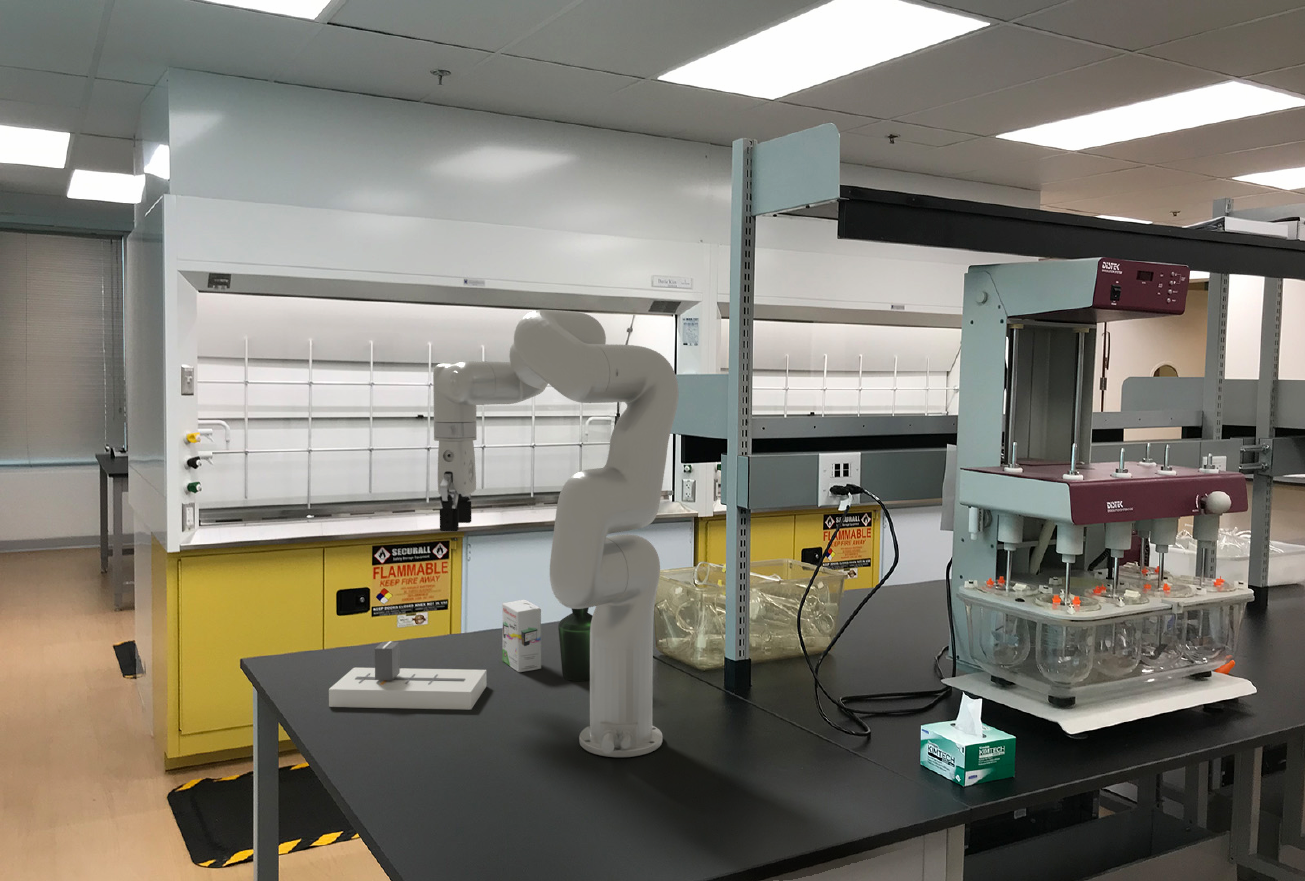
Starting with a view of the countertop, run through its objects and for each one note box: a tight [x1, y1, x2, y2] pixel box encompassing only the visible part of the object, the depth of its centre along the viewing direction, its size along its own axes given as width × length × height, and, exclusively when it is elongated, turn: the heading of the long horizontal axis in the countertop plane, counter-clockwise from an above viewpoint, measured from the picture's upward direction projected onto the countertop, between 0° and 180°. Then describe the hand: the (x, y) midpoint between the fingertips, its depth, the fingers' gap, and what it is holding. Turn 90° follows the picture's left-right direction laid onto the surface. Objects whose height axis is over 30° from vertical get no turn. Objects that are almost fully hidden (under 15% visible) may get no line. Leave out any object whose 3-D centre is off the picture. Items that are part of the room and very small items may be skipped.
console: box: [328, 667, 487, 710], centre depth 165 cm, size 12×24×3 cm, turn 88°
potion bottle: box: [557, 607, 593, 682], centre depth 176 cm, size 8×8×18 cm
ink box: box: [501, 599, 542, 673], centre depth 183 cm, size 8×5×12 cm, turn 30°
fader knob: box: [374, 640, 401, 680], centre depth 165 cm, size 4×3×6 cm
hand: (456, 526), depth 172 cm, fingers open, 9 cm apart
